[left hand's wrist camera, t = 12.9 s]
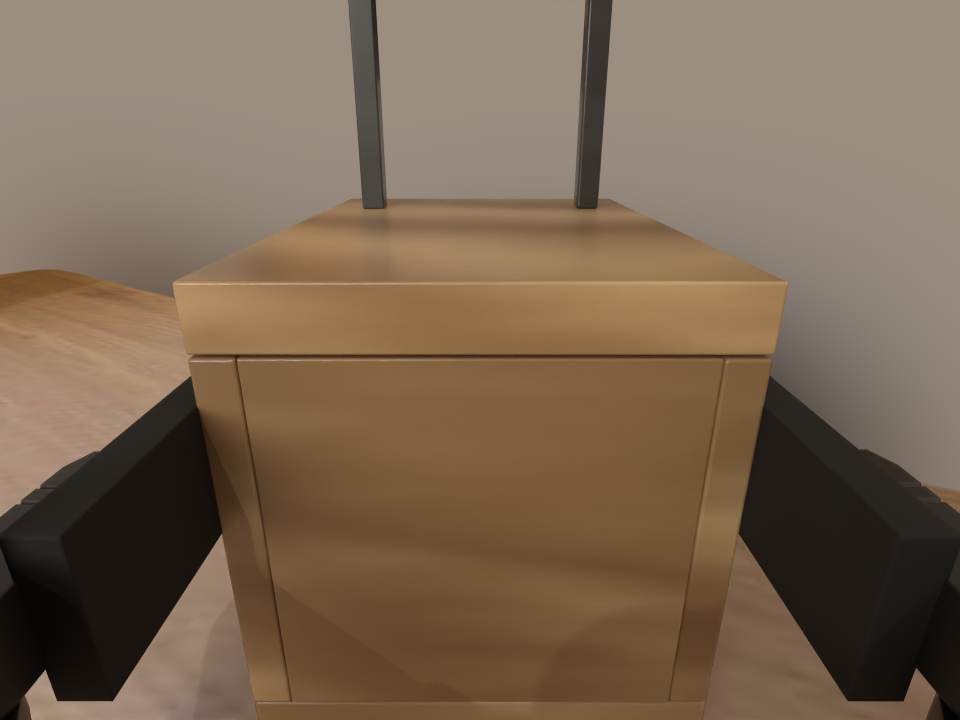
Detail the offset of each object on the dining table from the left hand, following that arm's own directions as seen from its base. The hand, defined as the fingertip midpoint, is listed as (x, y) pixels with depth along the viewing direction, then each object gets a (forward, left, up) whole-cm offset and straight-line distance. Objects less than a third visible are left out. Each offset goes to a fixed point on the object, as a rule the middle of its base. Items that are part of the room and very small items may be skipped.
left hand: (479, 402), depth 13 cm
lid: (+3, -3, +2) cm, 4 cm away
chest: (+2, -3, -7) cm, 8 cm away
